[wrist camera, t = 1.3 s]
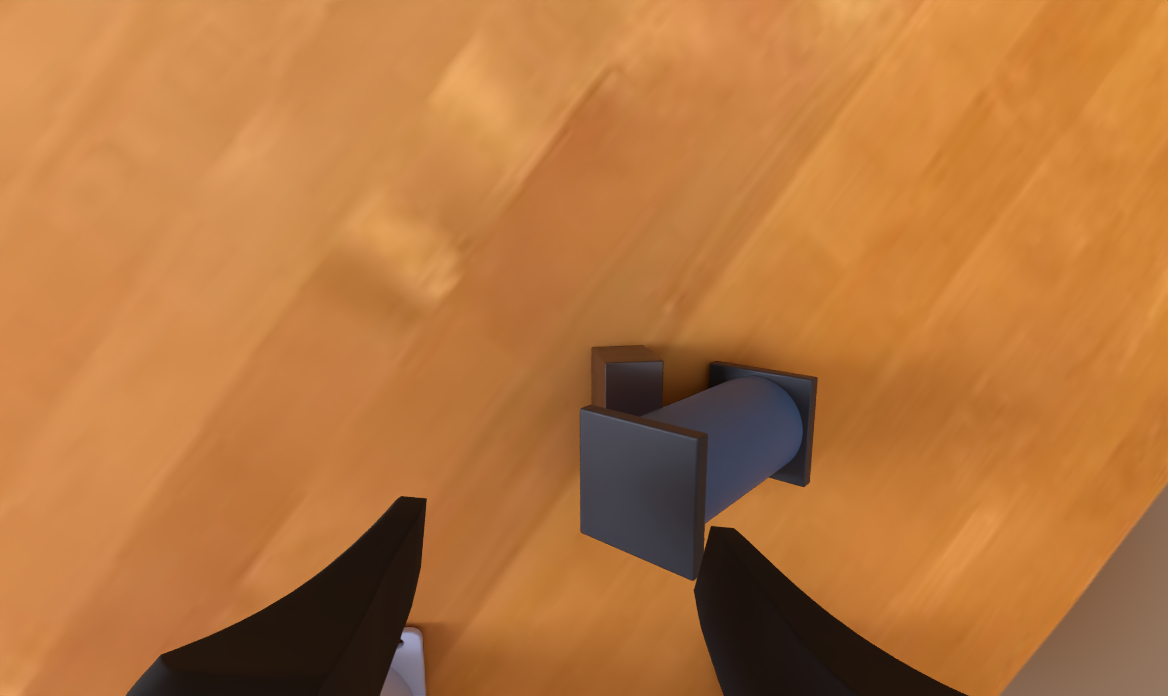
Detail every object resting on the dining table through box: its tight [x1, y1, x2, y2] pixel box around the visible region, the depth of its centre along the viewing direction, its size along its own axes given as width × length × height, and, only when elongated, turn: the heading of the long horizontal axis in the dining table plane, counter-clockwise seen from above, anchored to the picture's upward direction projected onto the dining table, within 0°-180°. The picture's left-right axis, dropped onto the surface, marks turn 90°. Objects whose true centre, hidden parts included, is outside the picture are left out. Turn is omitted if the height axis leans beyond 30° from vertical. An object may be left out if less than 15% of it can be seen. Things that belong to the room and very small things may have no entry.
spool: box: [580, 361, 818, 581], centre depth 22 cm, size 10×4×9 cm, turn 90°
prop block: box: [592, 345, 663, 417], centre depth 24 cm, size 2×6×3 cm, turn 0°
